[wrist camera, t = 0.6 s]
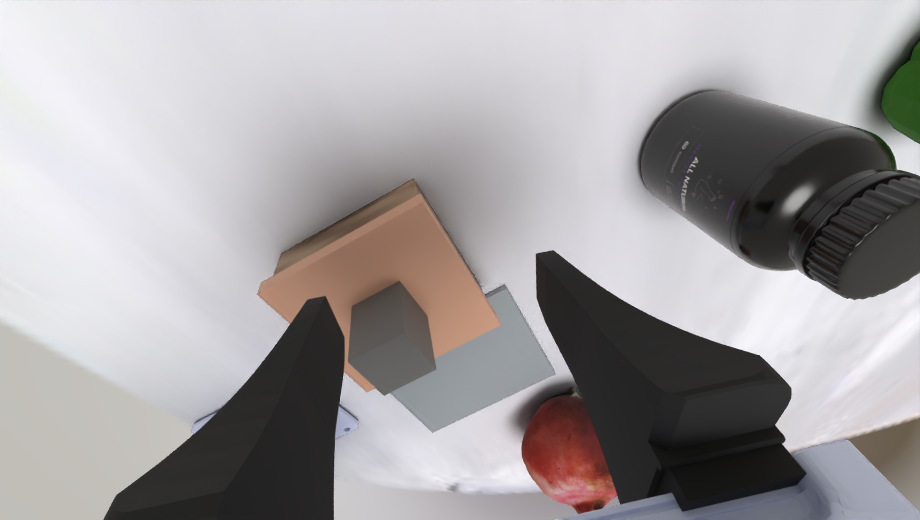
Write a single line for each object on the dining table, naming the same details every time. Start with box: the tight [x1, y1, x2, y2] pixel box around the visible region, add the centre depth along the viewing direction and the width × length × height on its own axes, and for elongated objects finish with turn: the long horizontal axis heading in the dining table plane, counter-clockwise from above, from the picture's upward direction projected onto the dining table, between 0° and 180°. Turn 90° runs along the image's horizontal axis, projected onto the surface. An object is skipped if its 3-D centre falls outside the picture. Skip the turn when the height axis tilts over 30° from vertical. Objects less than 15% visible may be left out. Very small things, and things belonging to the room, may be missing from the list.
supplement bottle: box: [641, 90, 920, 300], centre depth 19 cm, size 7×7×12 cm
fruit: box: [522, 387, 617, 514], centre depth 33 cm, size 9×10×10 cm
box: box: [273, 179, 482, 290], centre depth 24 cm, size 9×9×3 cm
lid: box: [257, 193, 501, 395], centre depth 21 cm, size 10×10×5 cm
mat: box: [390, 285, 555, 433], centre depth 31 cm, size 12×11×1 cm
